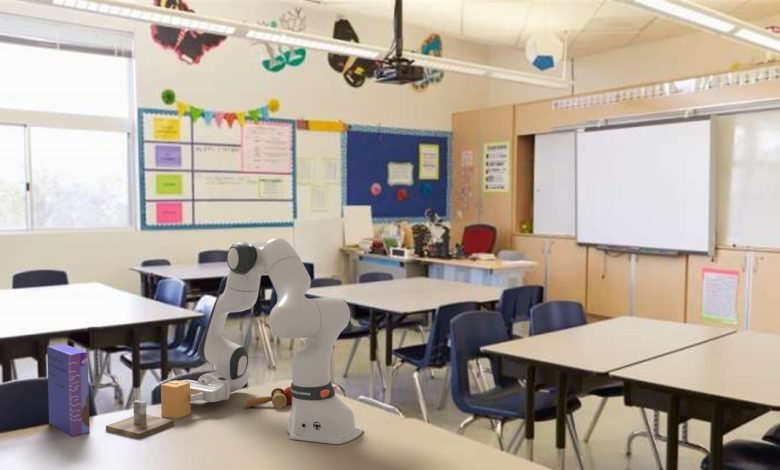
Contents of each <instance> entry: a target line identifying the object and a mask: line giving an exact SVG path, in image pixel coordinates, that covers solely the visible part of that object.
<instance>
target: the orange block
mask: <svg viewBox="0 0 780 470" xmlns="http://www.w3.org/2000/svg"><path fill="white" fill-rule="evenodd" d="M189 395H190V383H189V382H183V381H181V380H175V379H174V380H172V381H170V380H169V381H167V382H165V383H162V384H160V400H161V401H160V403H161V404H160V405H161V410H160V411H161V415H160V416H161V417H163V418H165V417H166V418H169V419H173V420H174V419H175V420H178V419H179V418H183V417H185V415H186V416H187V414H188V415H190V414H191V401H188V399H189V398H188V396H189ZM189 413H190V414H189ZM182 416H183V417H182ZM177 418H178V419H177Z"/></svg>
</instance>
